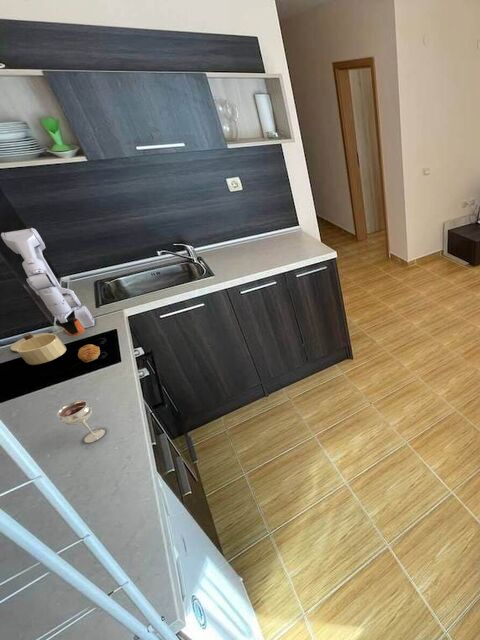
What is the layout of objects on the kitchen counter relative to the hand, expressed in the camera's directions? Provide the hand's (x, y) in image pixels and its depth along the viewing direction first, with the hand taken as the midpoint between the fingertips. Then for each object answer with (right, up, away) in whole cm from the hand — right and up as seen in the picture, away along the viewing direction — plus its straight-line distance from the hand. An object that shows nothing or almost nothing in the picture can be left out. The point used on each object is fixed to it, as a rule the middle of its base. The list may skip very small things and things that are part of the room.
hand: (74, 329), depth 146 cm
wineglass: (+47, -32, -40) cm, 69 cm away
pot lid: (-19, -5, +1) cm, 20 cm away
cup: (0, -1, +1) cm, 1 cm away
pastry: (+13, -11, -6) cm, 18 cm away
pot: (-6, -10, -6) cm, 13 cm away
